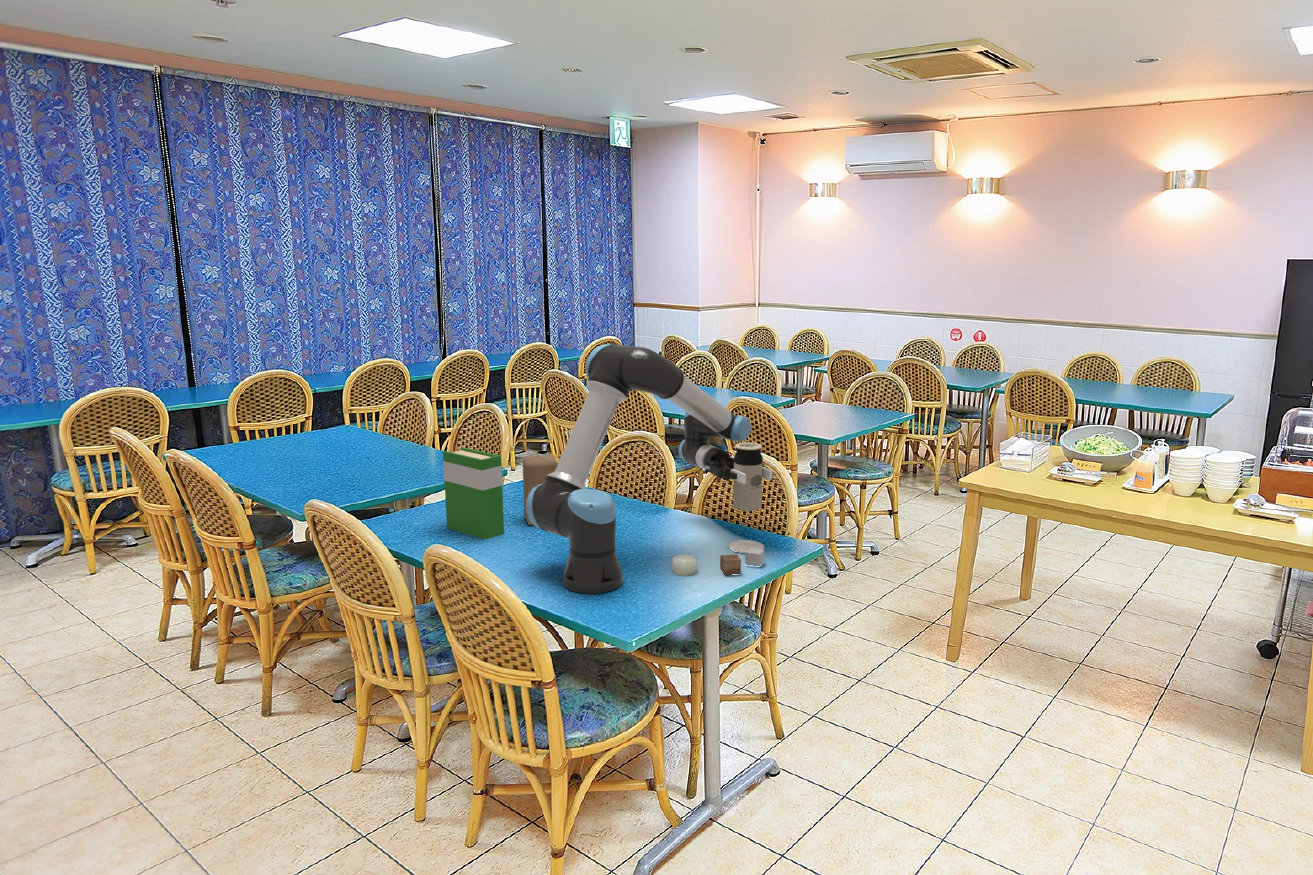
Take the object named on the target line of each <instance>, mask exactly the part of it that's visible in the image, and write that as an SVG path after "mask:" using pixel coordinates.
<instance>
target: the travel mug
mask: <svg viewBox="0 0 1313 875" xmlns="http://www.w3.org/2000/svg"><path fill="white" fill-rule="evenodd" d="M734 447H735V449H736V452H735V454H734V456H733V458H734V469H735V470H737V471H740V472H742V473H745V474H746V484H743V483H740V482H738V481H735V480H733V487H732V488H733V490H732V492H733V495H732V496H733V497H732V498H733V500H732V501H733V502H732V507H733V508H734V509H736V510H738V511H742V512H753V511H758V510H759V509H761V508H762V498H763V494H762V493H763V492H762V491H763V477H762V466H763V463H764V462H763V458H764V457H763V454H762V453H761V450H762V448H763V445H762V444H760V443H756V442H739V443H736V444H735V445H734Z"/></svg>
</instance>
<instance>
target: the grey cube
mask: <svg viewBox="0 0 1313 875" xmlns="http://www.w3.org/2000/svg"><path fill="white" fill-rule="evenodd" d="M744 556H745V557H744V558H745V560H744V561H745V562H744V563H745V564H747V565H753V566H760V565H761V564H763V562H764V563H765V549H764V550H762V549H756V548H749V549H748V550H747V551H746V552H745V554H744ZM745 564H744V565H745ZM763 565H764V564H763Z"/></svg>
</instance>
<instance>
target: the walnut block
mask: <svg viewBox="0 0 1313 875" xmlns="http://www.w3.org/2000/svg"><path fill="white" fill-rule="evenodd" d="M719 558H720V559H719V565H720V566H719V570H720V569H721V571H722V572H723V574H724V575H732V574H742V572H741V571H742V559H741V557H739V555H738V553H731V554H730V553H729V554H719ZM721 571H720V572H721ZM722 572H721V573H722ZM723 574H722V575H723ZM724 575H723V576H724Z"/></svg>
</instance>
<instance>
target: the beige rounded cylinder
mask: <svg viewBox="0 0 1313 875" xmlns="http://www.w3.org/2000/svg"><path fill="white" fill-rule="evenodd" d="M697 572H698V558H697V557H696V556H694V555H691V554H679V555H675V556H673V557H672V573H673V574H674V575H676V576H681V577H682V576H684V577H686V576H687V575H690V576H694V575H695V574H697ZM687 577H688V576H687Z"/></svg>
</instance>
